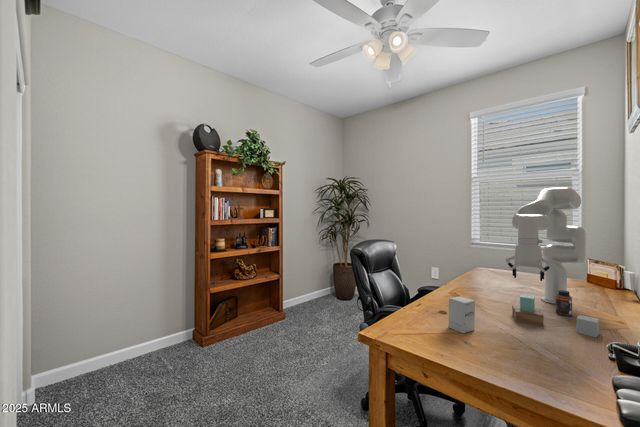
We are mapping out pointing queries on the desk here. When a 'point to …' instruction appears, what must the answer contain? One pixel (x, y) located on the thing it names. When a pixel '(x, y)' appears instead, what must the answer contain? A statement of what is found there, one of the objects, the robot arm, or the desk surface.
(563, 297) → the supplement bottle
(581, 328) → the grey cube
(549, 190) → the robot arm
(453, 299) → the supplement box
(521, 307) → the teal cube
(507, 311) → the desk surface
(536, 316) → the walnut block
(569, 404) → the desk surface
